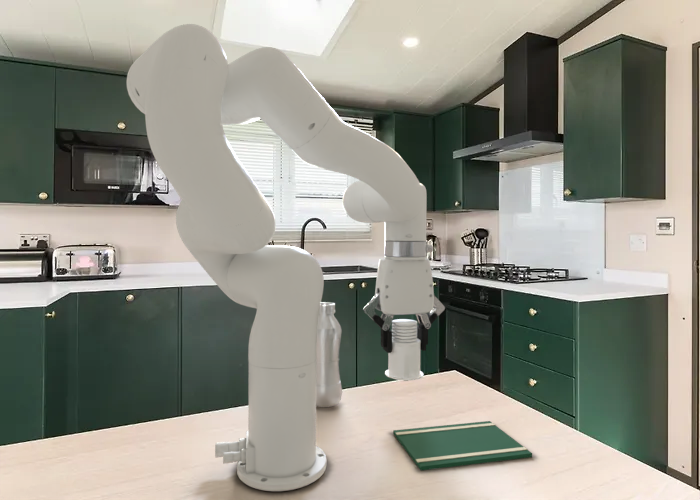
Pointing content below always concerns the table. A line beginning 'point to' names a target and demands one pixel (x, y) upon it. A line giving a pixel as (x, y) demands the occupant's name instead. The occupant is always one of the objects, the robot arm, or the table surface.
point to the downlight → (404, 351)
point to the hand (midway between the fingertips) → (404, 349)
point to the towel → (459, 445)
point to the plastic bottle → (328, 357)
